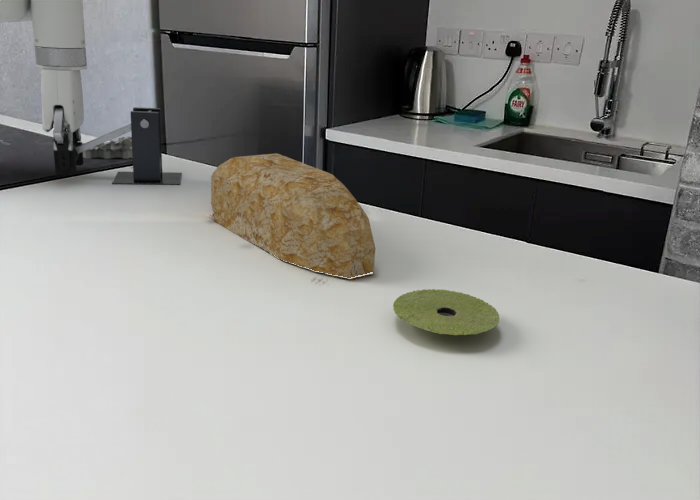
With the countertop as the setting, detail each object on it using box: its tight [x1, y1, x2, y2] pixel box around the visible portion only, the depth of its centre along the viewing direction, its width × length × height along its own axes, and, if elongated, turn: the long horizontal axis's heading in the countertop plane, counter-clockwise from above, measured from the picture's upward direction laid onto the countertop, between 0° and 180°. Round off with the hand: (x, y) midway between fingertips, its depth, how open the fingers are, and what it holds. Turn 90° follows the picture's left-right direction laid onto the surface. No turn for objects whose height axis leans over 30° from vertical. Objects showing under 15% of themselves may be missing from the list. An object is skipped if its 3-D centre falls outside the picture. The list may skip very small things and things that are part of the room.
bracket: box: [111, 106, 183, 186], centre depth 116 cm, size 11×8×13 cm
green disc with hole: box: [392, 288, 501, 336], centre depth 73 cm, size 11×11×2 cm
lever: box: [73, 110, 152, 161], centre depth 114 cm, size 17×3×3 cm, turn 101°
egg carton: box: [82, 136, 133, 160], centre depth 132 cm, size 11×8×4 cm
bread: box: [210, 152, 376, 278], centre depth 96 cm, size 36×11×10 cm, turn 38°
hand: (69, 168), depth 115 cm, fingers open, 5 cm apart
